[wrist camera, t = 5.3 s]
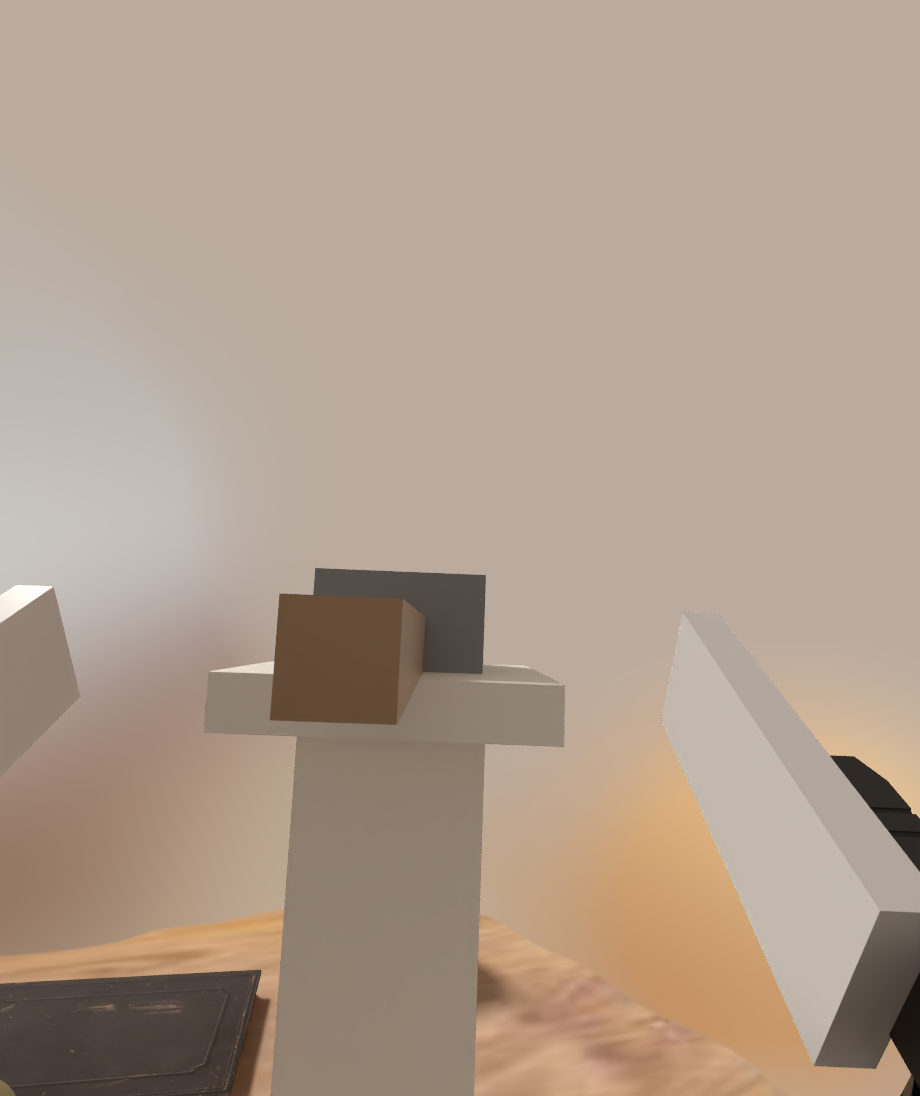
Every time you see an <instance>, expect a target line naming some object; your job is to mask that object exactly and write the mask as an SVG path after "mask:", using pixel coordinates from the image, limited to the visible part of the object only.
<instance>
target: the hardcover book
mask: <svg viewBox="0 0 920 1096" xmlns="http://www.w3.org/2000/svg"><path fill="white" fill-rule="evenodd" d="M260 976H261V970H248V971H229V972H210V973H191V974H173V975H154V976H135V977H116V978H97V979H78V980H59V981H40V982H22V983H3V984H0V1080H2V1081H3V1082H4V1083H6V1084H7V1085H8V1086H10V1088H11V1089H12V1091H13V1092H14V1093H15V1096H230V1093H231V1089H232V1085H233V1081H234V1077H235V1073H236V1069H237V1066H238V1062H239V1058H240V1054H241V1050H242V1046H243V1042H244V1038H245V1034H246V1030H247V1027H248V1023H249V1019H250V1015H251V1011H252V1007H253V1003H254V999H255V995H256V992H257V988H258V984H259V980H260Z"/></svg>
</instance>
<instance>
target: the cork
mask: <svg viewBox="0 0 920 1096" xmlns="http://www.w3.org/2000/svg"><path fill="white" fill-rule="evenodd" d="M0 1096H15V1093H14V1092H13V1091H12V1089H11V1088H10V1086H8V1085H7V1084H6V1083H4V1082H3V1081H2V1080H0Z"/></svg>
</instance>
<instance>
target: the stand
mask: <svg viewBox="0 0 920 1096" xmlns="http://www.w3.org/2000/svg"><path fill="white" fill-rule="evenodd" d="M273 672H274V661H272V662H265V663H259V664H253V665H247V666H241V667H235V668H228V669H221V670H215V671H209V675H208V686H207V697H206V707H205V718H204V729H203V733H223V734H248V735H249V734H250V735H273V736H274V735H275V736H297V742H296V756H295V770H294V785H293V798H292V812H291V825H290V839H289V852H288V866H287V879H286V893H285V907H284V921H283V934H282V948H281V962H280V975H279V989H278V1003H277V1016H276V1030H275V1044H274V1058H273V1071H272V1085H271V1096H474V1070H475V1039H476V1008H477V977H478V945H479V914H480V882H481V851H482V819H483V789H484V757H485V744H502V745H527V746H553V747H564V712H565V685H563V684H561V683H559V682H557V681H555V680H553V679H551V678H549V677H547V676H545V675H543V674H541V673H539V672H537V671H535V670H533V669H531V668H529V667H527V666H520V665H494V664H483V674H469V673H442V672H423V673H422V675H421V677H420V679H419V681H418V683H417V685H416V687H415V689H414V691H413V693H412V695H411V697H410V699H409V701H408V703H407V705H406V707H405V709H404V711H403V713H402V715H401V717H400V719H399V721H398V723H397V725H384V724H356V723H328V722H300V721H272V720H270V710H271V697H272V684H273Z"/></svg>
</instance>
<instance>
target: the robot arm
mask: <svg viewBox="0 0 920 1096" xmlns="http://www.w3.org/2000/svg"><path fill="white" fill-rule="evenodd" d="M79 697H80V693H79V689H78V685H77V681H76V677H75V673H74V669H73V664H72V660H71V656H70V652H69V648H68V644H67V640H66V636H65V632H64V628H63V624H62V620H61V616H60V611H59V607H58V603H57V599H56V595H55V591H54V587H53V586H28V585H16V586H15V587H13V588H11V589H10V590H8V591H7V592H5V593H3V594H2V595H0V777H1V776H2V775H3V774H4V773H5V772H6V770H8V768H10V767H11V765H13V764H14V763H15V762H16V760H18V758H20V757H21V756H22V754H24V752H25V751H27V749H28V748H29V747H30V746H31V745H32V744H33V743H34V742H35V741H36V740H37V739H38V738H39V737H40V736H41V735H42V734H43V733H44V732H45V731H46V730H47V729H48V728H49V727H50V726H51V725H52V724H53V723H54V722H55V721H56V720H57V719H58V718H59V717H60V716H61V715H62V714H63V713H64V712H65V711H66V710H67V709H68V708H69V707H70V706H71V705H72V704H73V703H74V701H76V700H77V699H78V698H79ZM661 721H662V724H663V726H664V728H665V730H666V733H667V735H668V737H669V739H670V742H671V744H672V746H673V749H674V751H675V753H676V755H677V757H678V760H679V762H680V764H681V767H682V768H683V771H684V773H685V776H686V778H687V780H688V782H689V785H690V787H691V789H692V791H693V794H694V796H695V798H696V800H697V803H698V805H699V807H700V809H701V812H702V814H703V816H704V819H705V821H706V823H707V826H708V828H709V830H710V832H711V835H712V837H713V839H714V841H715V844H716V846H717V848H718V850H719V852H720V855H721V857H722V859H723V862H724V864H725V866H726V869H727V871H728V873H729V875H730V878H731V880H732V882H733V884H734V886H735V889H736V891H737V893H738V896H739V898H740V900H741V903H742V905H743V907H744V909H745V912H746V914H747V916H748V918H749V921H750V923H751V925H752V927H753V930H754V932H755V934H756V936H757V938H758V941H759V943H760V946H761V948H762V950H763V952H764V954H765V957H766V959H767V961H768V964H769V966H770V968H771V970H772V973H773V975H774V977H775V980H776V982H777V984H778V986H779V988H780V991H781V993H782V995H783V998H784V1000H785V1002H786V1004H787V1007H788V1009H789V1011H790V1013H791V1016H792V1018H793V1020H794V1023H795V1025H796V1027H797V1029H798V1031H799V1034H800V1036H801V1038H802V1041H803V1043H804V1045H805V1047H806V1050H807V1052H808V1054H809V1056H810V1059H811V1061H812V1063H813V1065H814V1066H827V1067H828V1066H829V1067H848V1068H872V1069H876V1067H877V1065H878V1063H879V1061H880V1059H881V1057H882V1055H883V1053H884V1051H885V1049H886V1047H887V1045H888V1043H889V1041H890V1039H892V1041H893V1042H894V1044H895V1046H896V1048H897V1049H898V1051H899V1053H900V1055H901V1057H902V1058H903V1060H904V1062H905V1064H906V1065H907V1067H908V1069H909V1071H910V1073H911V1074H912V1075H911V1077H910V1079H909V1081H908V1082H907V1084H906V1086H905V1088H904V1090H903V1092H902V1094H901V1095H900V1096H920V818H919V817H918V816H917V815H916V814H912V813H911V808H910V807H909V806H908V804H907V803H906V802H905V801H904V800H903V799H902V797H901V796H900V795H899V794H898V793H897V792H896V790H895V789H894V788H893V787H892V786H891V785H890V783H889V782H888V781H887V780H886V779H884V778H883V777H881V776H880V775H879V774H877V773H876V772H875V771H873V770H872V769H871V768H869V767H868V766H866V765H865V764H864V763H862V762H861V761H860V760H858V759H856V758H855V757H852V756H850V757H849V756H829V755H828V753H827V752H826V750H825V749H824V748H823V747H822V745H821V744H820V743H819V742H818V740H817V739H816V738H815V736H814V735H813V734H812V732H811V731H810V730H809V729H808V727H807V726H806V725H805V723H804V722H803V721H802V720H801V718H800V717H799V716H798V714H797V713H796V712H795V711H794V709H793V708H792V707H791V705H790V704H789V703H788V702H787V700H786V699H785V698H784V696H783V695H782V694H781V692H780V691H779V690H778V689H777V687H776V686H775V685H774V683H773V682H772V681H771V680H770V679H769V677H768V676H767V674H766V673H765V672H764V671H763V669H762V668H761V667H760V665H759V664H758V663H757V661H756V660H755V659H754V658H753V656H752V655H751V654H750V652H749V651H748V650H747V649H746V647H745V646H744V645H743V644H742V642H741V641H740V640H739V638H738V637H737V636H736V634H735V633H734V632H733V631H732V629H731V628H730V627H729V625H728V624H727V623H726V622H725V620H724V619H723V618H722V616H721V615H720V614H708V613H707V614H706V613H684V612H683V613H682V618H681V623H680V629H679V634H678V639H677V644H676V649H675V654H674V659H673V664H672V669H671V674H670V680H669V685H668V689H667V694H666V699H665V705H664V710H663V715H662V720H661Z"/></svg>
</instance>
